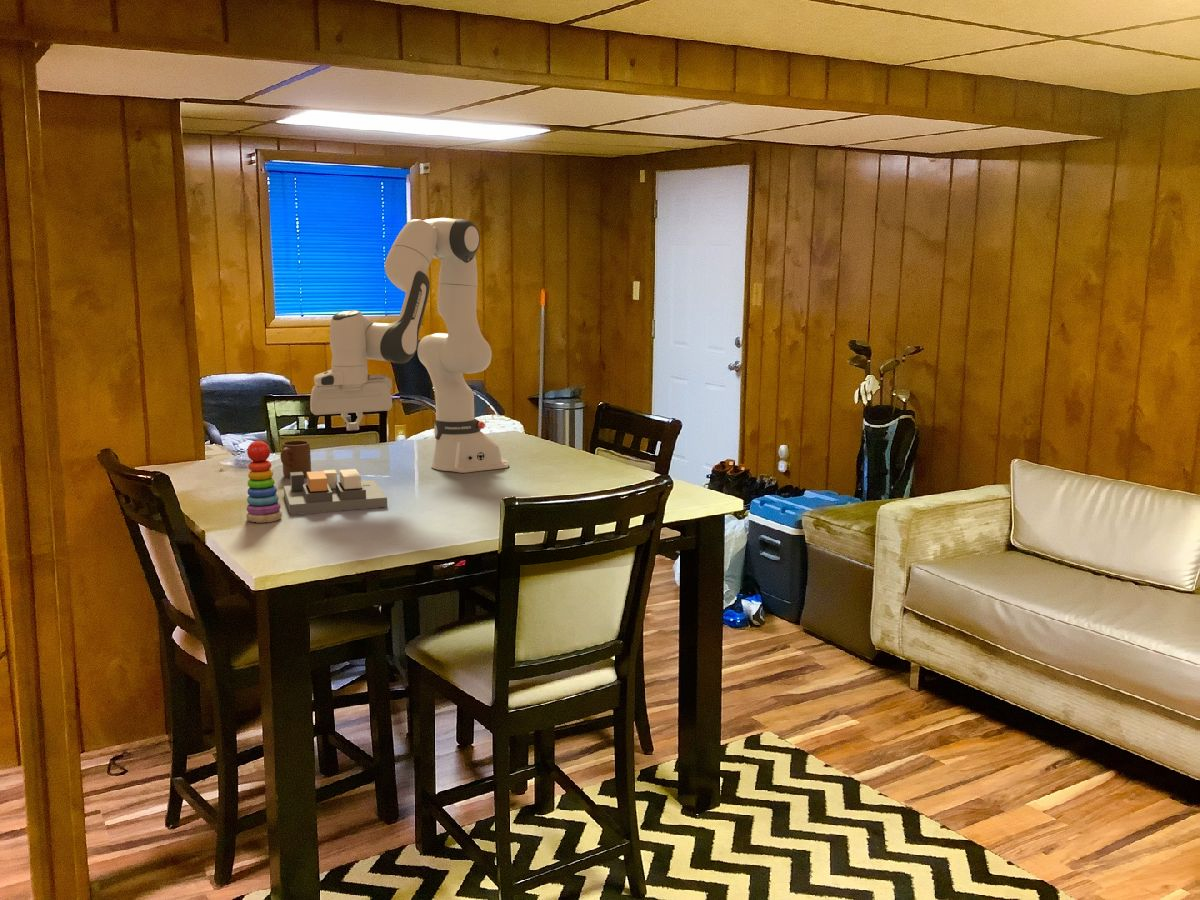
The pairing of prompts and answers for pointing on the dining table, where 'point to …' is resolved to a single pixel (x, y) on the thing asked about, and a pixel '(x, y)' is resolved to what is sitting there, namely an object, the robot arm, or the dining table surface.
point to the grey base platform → (335, 498)
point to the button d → (350, 479)
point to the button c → (317, 481)
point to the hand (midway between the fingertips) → (352, 429)
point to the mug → (296, 457)
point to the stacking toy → (261, 486)
